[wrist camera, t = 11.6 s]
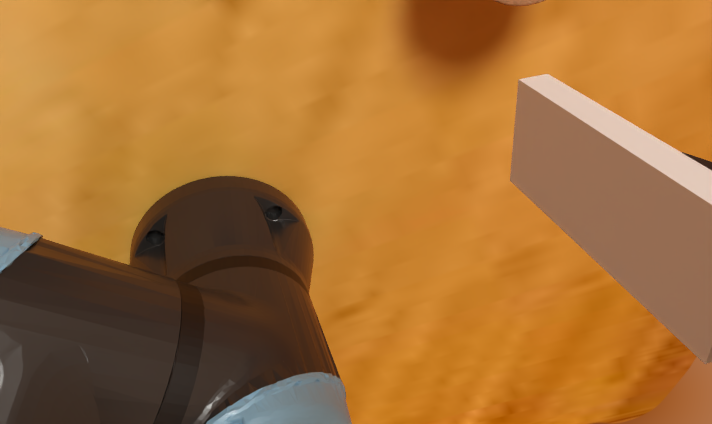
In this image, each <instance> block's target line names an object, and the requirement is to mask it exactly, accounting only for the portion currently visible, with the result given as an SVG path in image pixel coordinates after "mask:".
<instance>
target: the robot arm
mask: <svg viewBox="0 0 712 424" xmlns="http://www.w3.org/2000/svg"><path fill="white" fill-rule="evenodd" d="M510 181H511V182H512V183H513V184H514V185H515V186H517V187H518V188H519V189H520V190H521V191H522V192H523V193H524V194H525V195H526V196H527V197H528V198H529V199H530V200H531V201H532V202H534V203H535V204H536V205H537V206H538V207H539V208H540V209H541V210H542V211H543V212H544V213H545V214H546V215H547V216H548V217H549V218H551V219H552V220H553V221H554V222H555V223H556V224H557V225H558V226H559V227H560V228H561V229H562V230H563V231H564V232H565V233H566V234H568V235H569V236H570V237H571V238H572V239H573V240H574V241H575V242H576V243H577V244H578V245H579V246H580V247H581V248H582V249H583V250H585V251H586V252H587V253H588V254H589V255H590V256H591V257H592V258H593V259H594V260H595V261H596V262H597V263H598V264H599V265H600V266H602V267H603V268H604V269H605V270H606V271H607V272H608V273H609V274H610V275H611V276H612V277H613V278H614V279H615V280H616V281H617V282H619V283H620V284H621V285H622V286H623V287H624V288H625V289H626V290H627V291H628V292H629V293H630V294H631V295H632V296H633V297H634V298H636V299H637V300H638V301H639V302H640V303H641V304H642V305H643V306H644V307H645V308H646V309H647V310H648V311H649V312H650V313H651V314H653V315H654V316H655V317H656V318H657V319H658V320H659V321H660V322H661V323H662V324H663V325H664V326H665V327H666V328H667V329H668V330H669V331H671V332H672V333H673V334H674V335H675V336H676V337H677V338H678V339H679V340H680V341H681V342H682V343H683V344H684V345H685V346H686V347H688V348H689V349H690V350H691V351H692V352H693V353H694V354H695V355H696V356H697V357H698V358H699V359H700V360H702V362H703V363H705V364H707V363H710V362H712V162H710V161H707V160H704V159H701V158H698V157H695V156H692V155H689V154H686V153H683V152H682V153H681V152H679V151H678V150H676V149H674V148H673V147H671V146H669V145H668V144H666V143H664V142H662V141H661V140H659V139H657V138H656V137H654V136H652V135H651V134H649V133H647V132H645V131H644V130H642V129H640V128H639V127H637V126H635V125H634V124H632V123H630V122H628V121H627V120H625V119H623V118H622V117H620V116H618V115H617V114H615V113H613V112H611V111H610V110H608V109H606V108H605V107H603V106H601V105H600V104H598V103H596V102H594V101H593V100H591V99H589V98H588V97H586V96H584V95H583V94H581V93H579V92H577V91H576V90H574V89H572V88H571V87H569V86H567V85H566V84H564V83H562V82H561V81H559V80H557V79H555V78H554V77H552V76H550V75H549V74H544V75H539V76H534V77H529V78H523V79H519V80H518V92H517V104H516V116H515V128H514V140H513V152H512V163H511V175H510ZM42 237H43V236H42V235H40V234H38V233H31V234H25V233H21V232H17V231H13V230H9V229H5V228H1V227H0V424H352V423H351V419H350V415H349V412H348V408H347V404H346V392H345V387H344V385H343V383H342V381H341V379H340V376H339V374H338V371H337V368H336V366H335V363H334V360H333V358H332V355H331V352H330V350H329V347H328V344H327V342H326V339H325V336H324V334H323V331H322V328H321V325H320V323H319V320H318V317H317V315H316V312H315V309H314V307H313V304H312V301H311V299H310V296H309V289H310V282H311V275H312V267H313V255H314V254H313V244H312V239H311V236H310V233H309V230H308V228H307V225H306V223H305V220H304V218H303V216H302V214H301V212H300V211H299V209H298V208H297V207H296V205H295V204H294V203H293V202H292V201H291V200H290V199H289V198H288V197H287V196H286V195H285V194H283V193H282V192H280V191H279V190H277V189H276V188H274V187H272V186H270V185H268V184H265V183H263V182H260V181H257V180H253V179H249V178H244V177H235V176H220V177H211V178H205V179H201V180H197V181H193V182H190V183H188V184H185V185H183V186H181V187H178V188H176V189H175V190H173V191H171V192H169V193H168V194H166V195H165V196H163V197H162V198H161V199H159V200H158V201H157V202H156V203H155V204H154V205H153V206H152V207H151V208H150V209H149V210H148V211H147V212H146V214H145V215H144V216H143V218H142V219H141V221H140V222H139V224H138V226H137V228H136V230H135V233H134V236H133V239H132V244H131V255H130V265H127V264H124V263H120V262H117V261H114V260H111V259H107V258H104V257H101V256H97V255H94V254H91V253H88V252H84V251H81V250H78V249H74V248H71V247H68V246H65V245H61V244H58V243H55V242H52V241H49V240H46V239H43V238H42Z"/></svg>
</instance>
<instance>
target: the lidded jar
mask: <svg viewBox="0 0 712 424" xmlns="http://www.w3.org/2000/svg"><path fill="white" fill-rule="evenodd" d="M493 1H496V2H499V3H502V4H505V5H512V6H526V5H532V4H536V3H540V2H542V1H544V0H493Z"/></svg>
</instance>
